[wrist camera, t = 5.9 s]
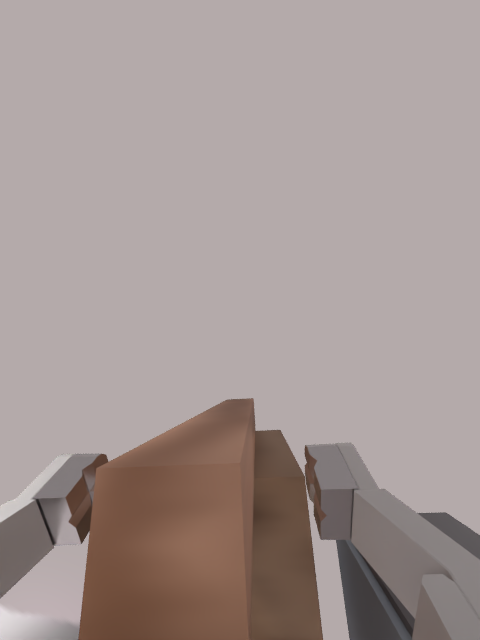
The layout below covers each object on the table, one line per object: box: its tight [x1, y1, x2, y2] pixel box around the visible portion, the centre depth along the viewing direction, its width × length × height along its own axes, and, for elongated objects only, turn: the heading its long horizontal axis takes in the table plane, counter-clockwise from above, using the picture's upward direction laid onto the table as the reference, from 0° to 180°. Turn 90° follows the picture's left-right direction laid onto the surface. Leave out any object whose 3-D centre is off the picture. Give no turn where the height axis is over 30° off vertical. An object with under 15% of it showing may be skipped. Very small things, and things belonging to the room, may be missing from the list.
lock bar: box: [78, 398, 255, 640], centre depth 15 cm, size 3×22×3 cm, turn 176°
